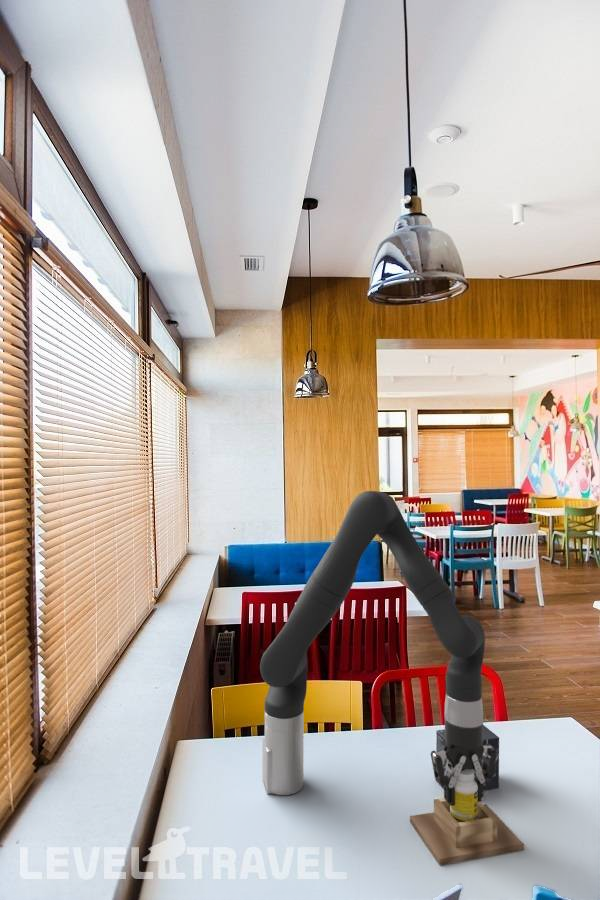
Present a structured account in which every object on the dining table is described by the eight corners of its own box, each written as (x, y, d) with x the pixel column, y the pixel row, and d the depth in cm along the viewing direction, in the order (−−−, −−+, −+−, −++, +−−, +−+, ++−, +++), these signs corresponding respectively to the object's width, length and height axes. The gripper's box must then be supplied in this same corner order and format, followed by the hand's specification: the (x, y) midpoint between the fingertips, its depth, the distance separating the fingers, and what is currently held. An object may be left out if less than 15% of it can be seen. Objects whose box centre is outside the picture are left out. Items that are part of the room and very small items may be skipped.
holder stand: (439, 865, 104) (439, 837, 104) (409, 821, 116) (409, 796, 116) (523, 850, 108) (523, 822, 108) (486, 809, 120) (486, 785, 121)
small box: (450, 797, 125) (449, 744, 125) (434, 781, 131) (434, 730, 132) (500, 788, 128) (500, 736, 129) (483, 772, 135) (482, 723, 135)
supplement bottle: (479, 829, 109) (479, 778, 109) (450, 825, 110) (450, 775, 110) (476, 812, 114) (476, 764, 114) (449, 808, 115) (449, 761, 116)
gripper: (440, 729, 107) (440, 818, 107) (505, 722, 111) (506, 807, 110) (423, 712, 115) (423, 795, 114) (484, 706, 118) (485, 786, 118)
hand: (463, 801), depth 112 cm, fingers closed on supplement bottle, 5 cm apart
